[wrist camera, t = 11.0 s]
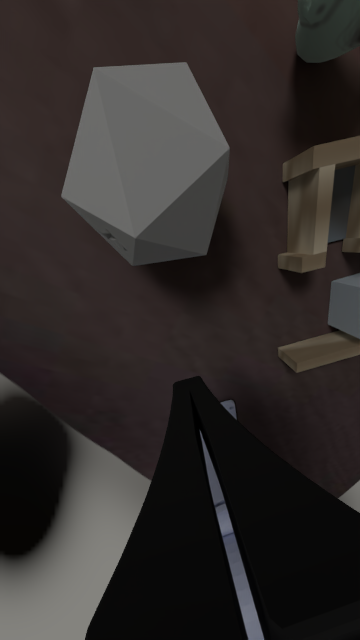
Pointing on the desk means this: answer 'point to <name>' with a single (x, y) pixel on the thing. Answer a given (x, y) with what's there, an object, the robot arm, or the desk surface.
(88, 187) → the die
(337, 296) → the grey block
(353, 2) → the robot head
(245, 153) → the desk surface
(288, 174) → the channel
